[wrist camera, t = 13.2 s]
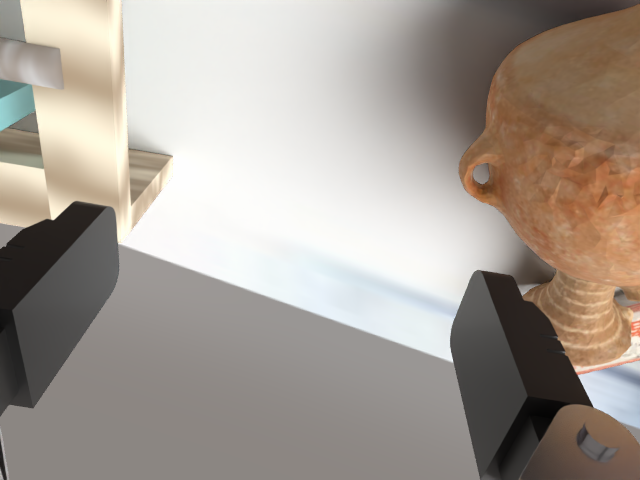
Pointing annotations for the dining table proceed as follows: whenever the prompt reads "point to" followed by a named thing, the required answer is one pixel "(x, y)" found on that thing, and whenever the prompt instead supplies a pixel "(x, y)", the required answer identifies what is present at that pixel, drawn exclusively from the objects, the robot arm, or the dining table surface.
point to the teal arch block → (15, 102)
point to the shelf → (74, 119)
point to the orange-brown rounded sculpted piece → (571, 173)
